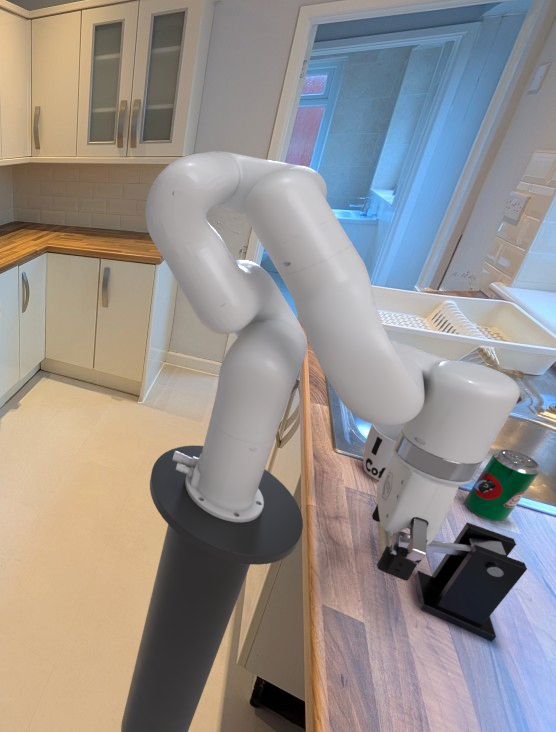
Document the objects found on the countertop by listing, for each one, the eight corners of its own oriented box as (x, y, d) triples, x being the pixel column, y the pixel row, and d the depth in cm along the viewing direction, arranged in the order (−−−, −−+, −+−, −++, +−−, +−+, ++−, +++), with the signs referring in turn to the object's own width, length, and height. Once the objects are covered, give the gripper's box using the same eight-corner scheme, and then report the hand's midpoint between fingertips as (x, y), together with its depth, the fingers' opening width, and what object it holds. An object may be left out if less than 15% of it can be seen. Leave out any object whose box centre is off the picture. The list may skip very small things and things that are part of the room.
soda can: (502, 528, 70) (540, 474, 65) (460, 508, 74) (493, 455, 69) (507, 513, 73) (544, 460, 68) (466, 494, 77) (499, 443, 72)
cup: (349, 471, 82) (367, 430, 78) (359, 452, 87) (377, 412, 83) (403, 497, 76) (427, 454, 72) (411, 474, 81) (433, 433, 77)
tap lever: (382, 561, 59) (379, 547, 59) (379, 531, 64) (375, 517, 63) (513, 582, 52) (511, 566, 51) (499, 546, 56) (496, 531, 56)
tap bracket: (420, 609, 59) (462, 547, 53) (414, 575, 63) (452, 514, 58) (492, 642, 55) (545, 578, 50) (480, 603, 60) (527, 541, 54)
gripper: (390, 410, 62) (353, 496, 69) (405, 484, 50) (357, 580, 57) (460, 428, 59) (413, 517, 66) (497, 514, 46) (433, 613, 53)
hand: (387, 546), depth 61 cm, fingers open, 9 cm apart
